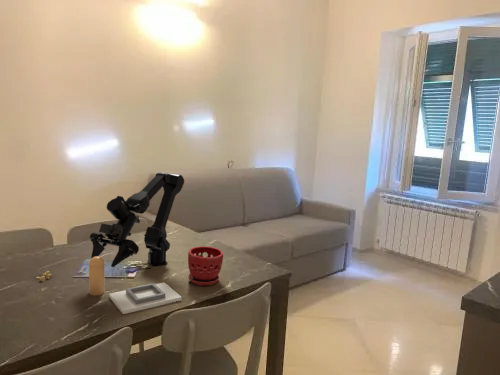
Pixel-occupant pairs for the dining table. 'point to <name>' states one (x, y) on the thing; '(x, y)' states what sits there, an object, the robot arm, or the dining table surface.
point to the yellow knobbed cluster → (45, 276)
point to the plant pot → (204, 265)
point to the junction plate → (144, 297)
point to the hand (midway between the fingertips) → (101, 264)
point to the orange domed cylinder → (96, 276)
